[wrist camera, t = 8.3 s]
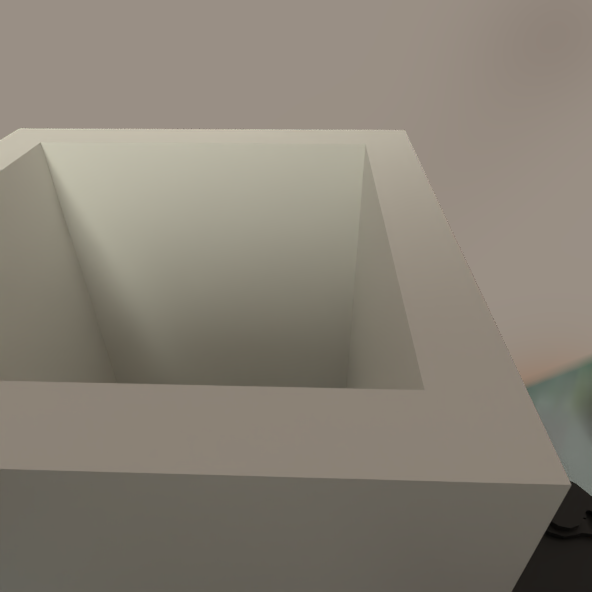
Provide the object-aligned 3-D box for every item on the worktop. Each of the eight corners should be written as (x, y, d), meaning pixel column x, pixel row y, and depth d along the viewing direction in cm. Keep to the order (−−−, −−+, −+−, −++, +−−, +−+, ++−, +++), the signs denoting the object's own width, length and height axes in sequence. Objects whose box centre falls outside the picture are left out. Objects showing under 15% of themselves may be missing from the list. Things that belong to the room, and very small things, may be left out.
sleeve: (364, 457, 15) (405, 130, 9) (395, 797, 9) (569, 484, 3) (128, 450, 15) (19, 128, 9) (5, 778, 9) (-511, 454, 3)
